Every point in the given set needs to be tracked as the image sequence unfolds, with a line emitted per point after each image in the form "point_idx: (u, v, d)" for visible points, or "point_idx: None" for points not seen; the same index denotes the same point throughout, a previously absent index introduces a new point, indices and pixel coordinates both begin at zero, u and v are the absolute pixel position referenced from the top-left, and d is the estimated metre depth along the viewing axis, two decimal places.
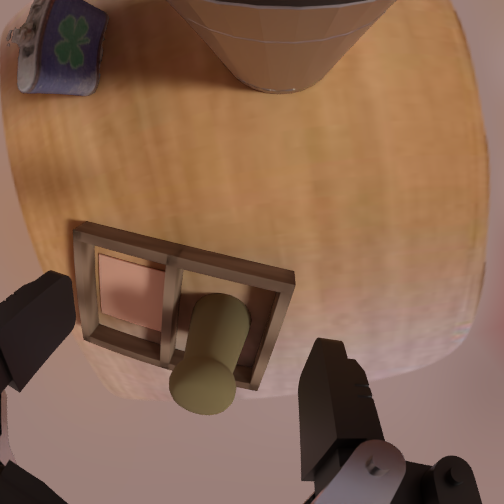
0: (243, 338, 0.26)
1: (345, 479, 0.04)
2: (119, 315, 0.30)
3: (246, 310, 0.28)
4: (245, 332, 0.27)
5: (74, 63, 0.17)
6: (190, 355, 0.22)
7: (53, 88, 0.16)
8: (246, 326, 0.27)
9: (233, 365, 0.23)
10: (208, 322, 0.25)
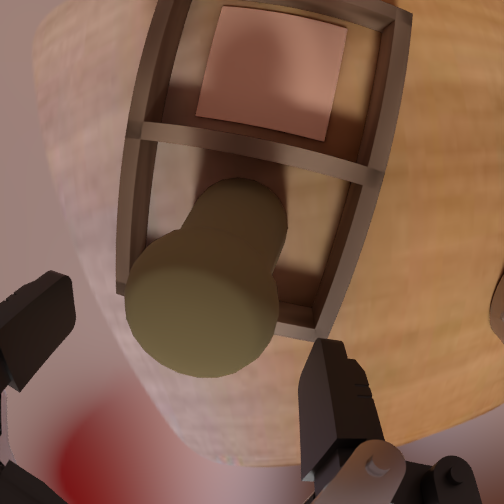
0: None
1: (345, 479, 0.04)
2: (222, 38, 0.14)
3: None
4: None
5: None
6: None
7: None
8: None
9: None
10: (277, 242, 0.14)
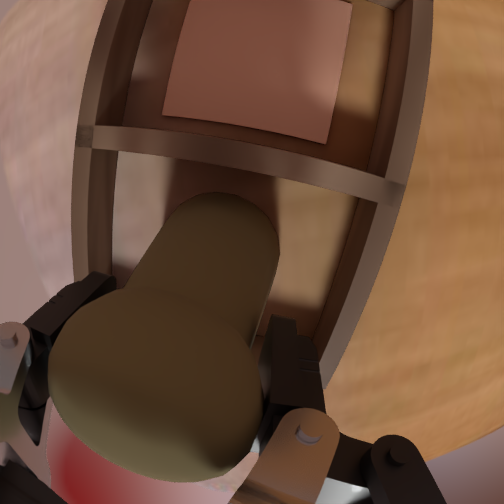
0: None
1: (269, 441, 0.04)
2: (195, 18, 0.10)
3: None
4: None
5: None
6: (229, 321, 0.07)
7: None
8: None
9: None
10: (265, 283, 0.11)
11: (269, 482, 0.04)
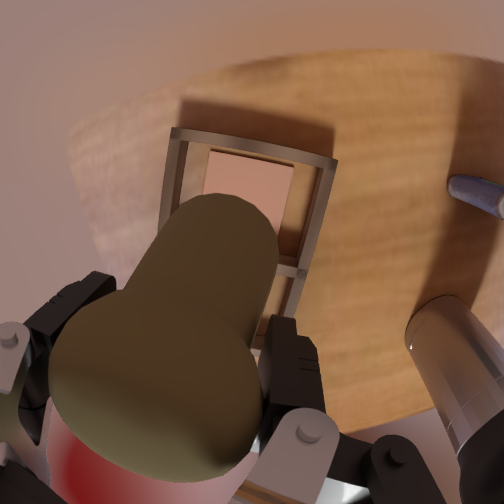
0: None
1: (269, 440, 0.04)
2: (211, 178, 0.26)
3: None
4: None
5: None
6: (229, 322, 0.07)
7: (481, 204, 0.19)
8: None
9: None
10: (265, 283, 0.11)
11: (269, 482, 0.04)
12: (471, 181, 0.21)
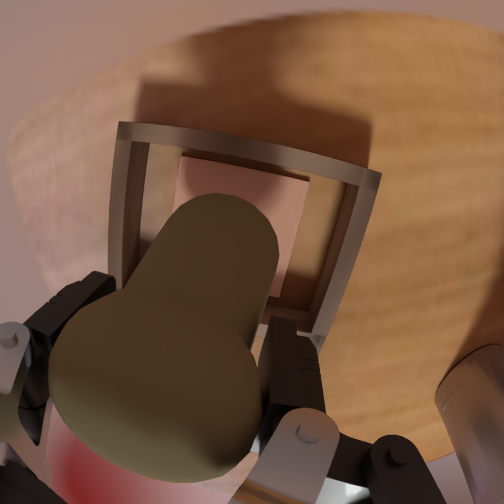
0: None
1: (269, 441, 0.04)
2: (182, 197, 0.17)
3: None
4: None
5: None
6: (229, 322, 0.07)
7: None
8: None
9: None
10: (265, 284, 0.11)
11: (269, 482, 0.04)
12: None
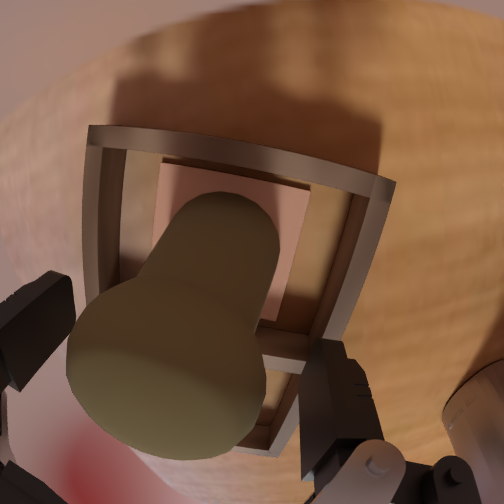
0: None
1: (345, 479, 0.04)
2: (164, 209, 0.15)
3: None
4: None
5: None
6: (234, 308, 0.08)
7: None
8: None
9: None
10: (267, 276, 0.11)
11: None
12: None
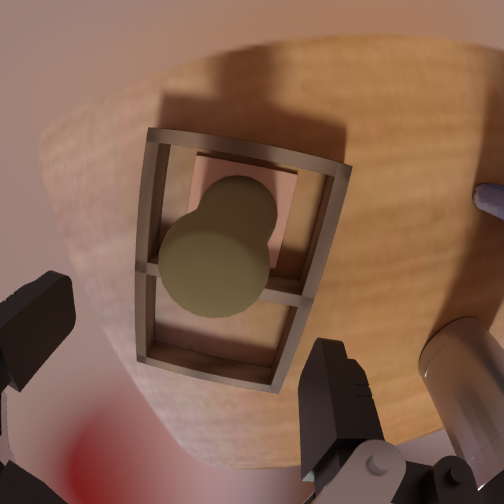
0: None
1: (345, 479, 0.04)
2: (197, 187, 0.22)
3: None
4: None
5: None
6: None
7: None
8: None
9: None
10: (269, 224, 0.18)
11: None
12: (502, 192, 0.16)
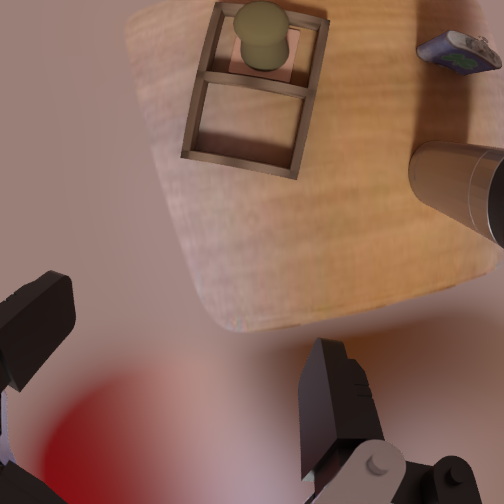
0: (266, 62, 0.28)
1: (345, 479, 0.04)
2: None
3: (277, 68, 0.30)
4: (267, 64, 0.29)
5: (445, 56, 0.24)
6: None
7: (438, 45, 0.22)
8: (269, 66, 0.29)
9: (265, 49, 0.24)
10: (285, 37, 0.26)
11: None
12: None
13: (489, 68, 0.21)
